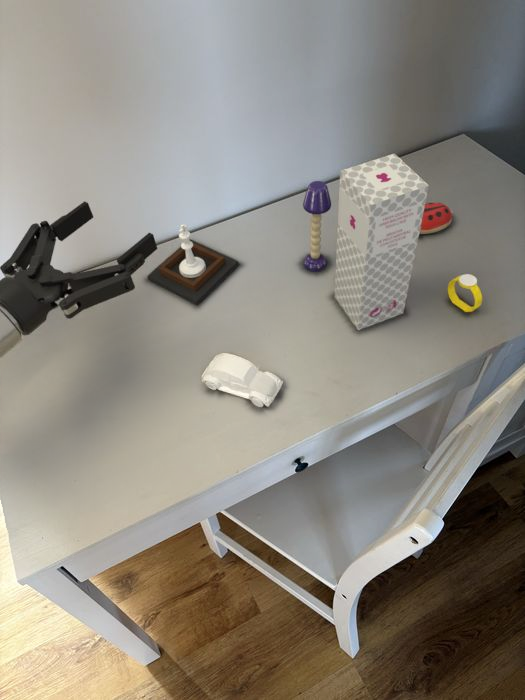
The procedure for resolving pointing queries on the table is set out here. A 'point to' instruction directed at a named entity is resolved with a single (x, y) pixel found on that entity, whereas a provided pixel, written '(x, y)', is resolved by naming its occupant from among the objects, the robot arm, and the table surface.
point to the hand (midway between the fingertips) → (120, 224)
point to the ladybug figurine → (435, 218)
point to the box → (377, 238)
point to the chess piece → (189, 257)
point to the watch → (468, 283)
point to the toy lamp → (316, 222)
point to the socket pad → (197, 286)
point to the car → (241, 379)
